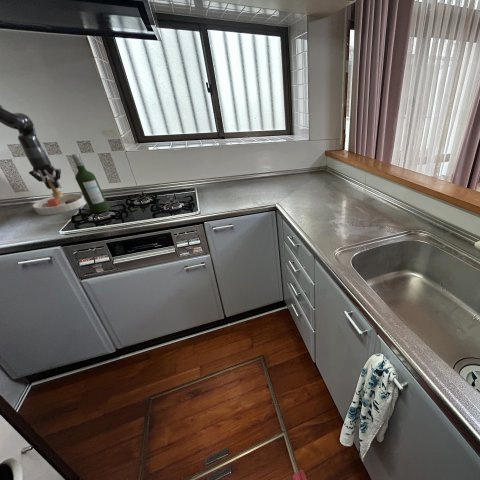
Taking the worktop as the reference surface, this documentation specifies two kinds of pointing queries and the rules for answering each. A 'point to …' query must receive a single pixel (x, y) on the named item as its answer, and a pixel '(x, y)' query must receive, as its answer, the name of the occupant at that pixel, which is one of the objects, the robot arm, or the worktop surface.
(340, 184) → the worktop surface
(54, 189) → the muddler
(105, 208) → the wine bottle
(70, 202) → the walnut block
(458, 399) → the worktop surface
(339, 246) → the worktop surface
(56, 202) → the terracotta block
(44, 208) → the bowl
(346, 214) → the worktop surface
